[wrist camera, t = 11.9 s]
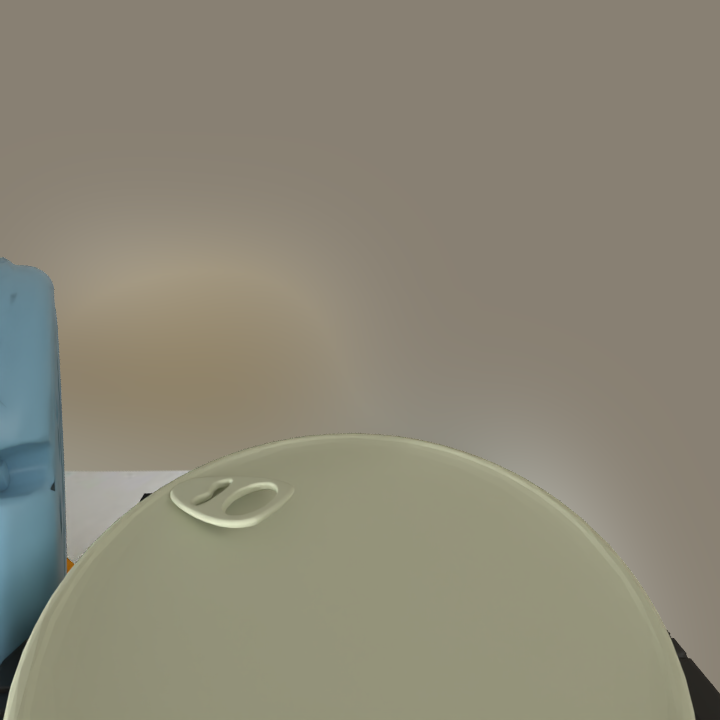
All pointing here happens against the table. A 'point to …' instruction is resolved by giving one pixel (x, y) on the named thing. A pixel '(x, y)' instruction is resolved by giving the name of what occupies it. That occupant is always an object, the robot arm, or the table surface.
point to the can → (349, 599)
